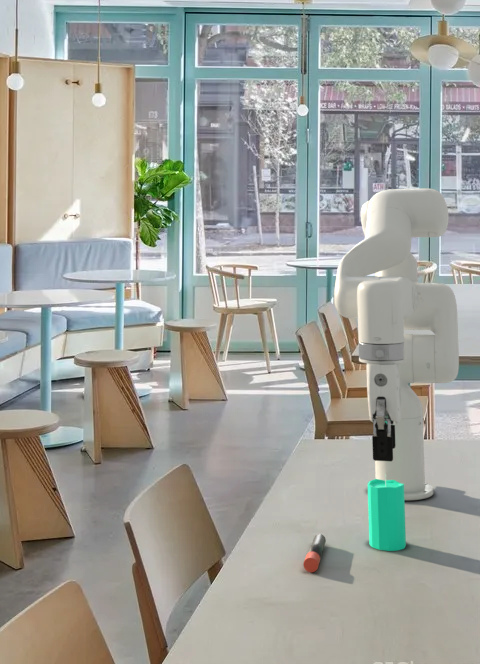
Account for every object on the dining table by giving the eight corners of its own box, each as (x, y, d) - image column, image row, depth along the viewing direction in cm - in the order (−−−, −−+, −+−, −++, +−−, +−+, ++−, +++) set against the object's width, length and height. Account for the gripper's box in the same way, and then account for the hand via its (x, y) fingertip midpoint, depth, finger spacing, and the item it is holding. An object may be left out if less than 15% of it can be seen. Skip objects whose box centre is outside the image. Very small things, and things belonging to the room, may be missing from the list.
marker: (313, 543, 175) (313, 530, 175) (327, 544, 175) (327, 531, 175) (303, 571, 162) (303, 557, 162) (318, 573, 161) (317, 558, 161)
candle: (407, 551, 170) (405, 479, 170) (370, 550, 171) (368, 478, 171) (404, 540, 176) (402, 470, 176) (368, 538, 177) (366, 469, 177)
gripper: (402, 360, 164) (406, 467, 164) (406, 347, 181) (408, 444, 180) (354, 359, 167) (358, 464, 166) (362, 346, 183) (365, 442, 183)
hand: (384, 454), depth 173 cm, fingers open, 9 cm apart
